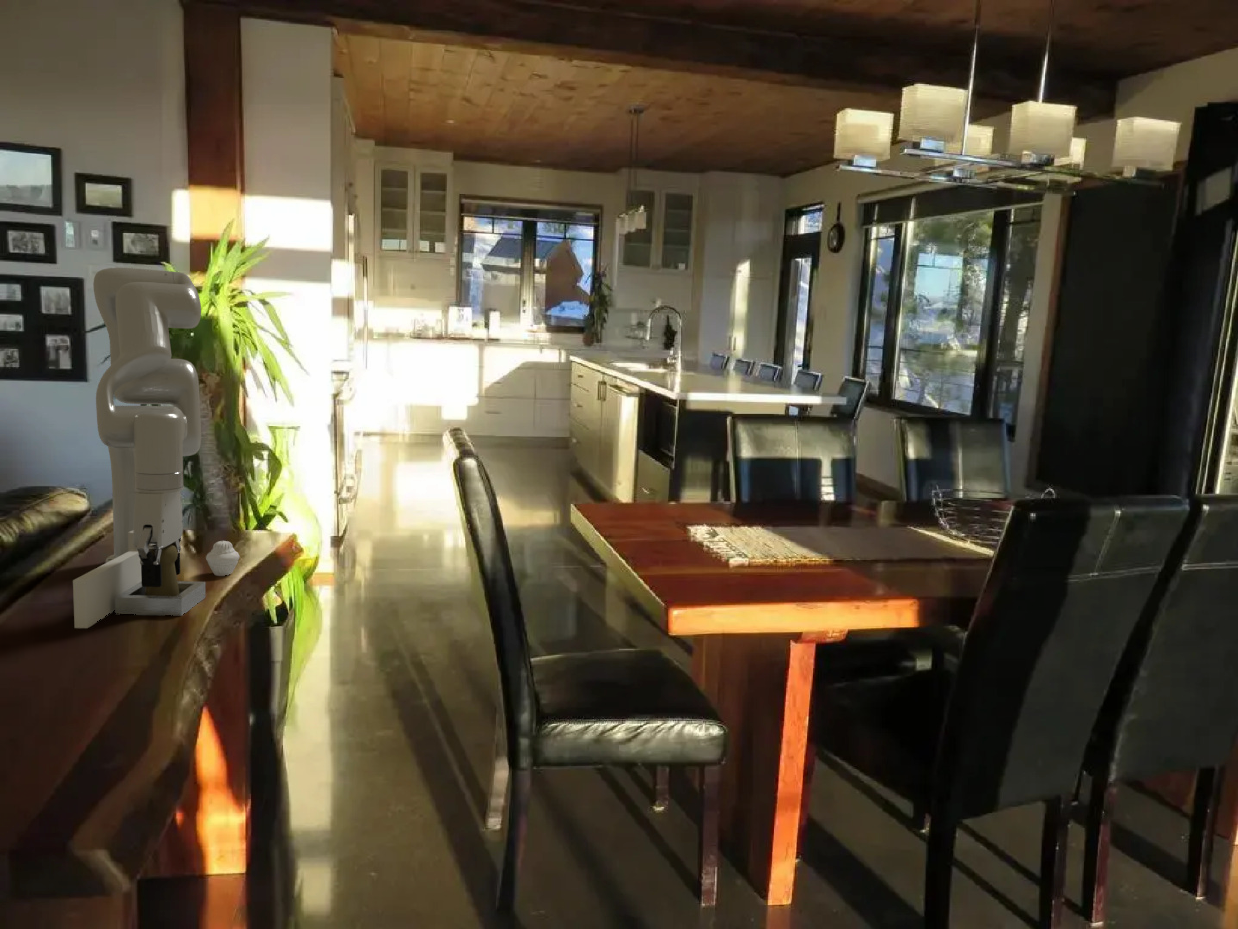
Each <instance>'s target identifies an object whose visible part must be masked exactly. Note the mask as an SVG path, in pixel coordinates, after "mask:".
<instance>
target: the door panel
mask: <svg viewBox="0 0 1238 929" xmlns="http://www.w3.org/2000/svg"><path fill="white" fill-rule="evenodd" d="M151 545H155V544H149V546H151ZM141 581H142V580H141V564H140V558H139V553H138V551H137V548H135V547H134V545H133V531H130V532H128V552H127V553H125V554H123V555H121V556H119V557H117V558H115V559H113V560H111V561H109V562H107V563H106V562H105V563H104V564H102V565H100V566H98V567H97V568H94V569H92V570H90V571H88V572H85V573H84V574H82V575H81V576H79V577H76V578H75V579H73V580H72V587H73V588H72V590H73V591H72V593H73V616H74V619H73V621H74V629H88V628H90V627H92V626H94V625H95V624H96V623H98V622H100V621H101V620H103V619H105V618H106V617H107V616H109V615H110V614H112V613H113V611H114V610H115V597H116V596H118V595H120V594H121V593H123V592H125V591H126V590H128V589H130V588H131V587H133V586H135V585H136V584H138V583H139V582H141ZM114 612H115V611H114ZM109 613H110V614H109ZM108 614H109V615H108ZM106 615H107V616H106ZM105 616H106V617H105ZM100 619H101V620H100ZM99 620H100V621H99ZM97 621H98V622H97Z"/></svg>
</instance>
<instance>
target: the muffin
mask: <svg viewBox="0 0 1238 929" xmlns="http://www.w3.org/2000/svg"><path fill="white" fill-rule="evenodd" d="M210 550H211V551H209V552H208V553H207V555H206V556H205V559H206V561H207V565H208V567H209V568H210V570H211V571H212V574H214V576H216V577H225V575H227V576H230V575H229V574H231V573H232V574H233V572H234V571H235V568H236V566H237V564H238V563H239V560H240V554H239V552H238V551H236V550H235V548H234V547H233V544H232V543H231V542H230V541H228V540H227V541H226V540H220V541H216V542H215V543H214V544H213V546H212V549H210ZM232 574H231V575H232Z"/></svg>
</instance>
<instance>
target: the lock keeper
mask: <svg viewBox="0 0 1238 929" xmlns="http://www.w3.org/2000/svg"><path fill="white" fill-rule="evenodd" d="M177 581H178V587H179V593H180V594H179V595H177V596H145V589H146V587H143V586H142V581H141V582H139V583H138V584H136V585H135V586H133V587H131V588H130V589H128V590H126V591H125V592H123V593H121V594H120V595H118V596H116V597H115V611H114V612H115V613H116V614H115V613H114V614H115V615H120V613H121V614H134V615H133V616H165V615H171V616H172V615H173V616H174V617H176V616H177V617H178V616H179V617H180V616H181V617H182V616H184V615H185V614H187V612H189V611H190V610H191V609H193V608H194V607H195V606H197V605H198V604H199V603H200V602H202V601H203V600H205V599H206V598H205V597H206V581H191V580H187V581H186V580H184V581H183V580H177ZM197 603H198V604H197ZM192 607H193V608H192ZM117 613H119V614H117ZM184 613H185V614H184ZM135 614H136V615H135ZM183 614H184V615H183ZM171 616H170V617H171Z"/></svg>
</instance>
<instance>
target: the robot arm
mask: <svg viewBox="0 0 1238 929" xmlns="http://www.w3.org/2000/svg"><path fill="white" fill-rule="evenodd" d="M92 284H93V292H94V293H93V294H94V299H95V302H96V306H97V309H98V311H99V314H100V316H101V318H102V320H103V322H104V324H105V325H104V326H105V328H106V330H107V333H108V339H109V352H110V353H109V354H110V356H109V357H110V366H109V367H108V368H107V369H106V371H105V372H104V373H103V375H102V376H101V378H100V379H99V382H98V385H97V388H96V393H95V394H96V395H95V406H96V407H95V408H96V409H95V411H96V423H97V425H96V426H97V431H98V432H97V433H98V437H99V439H100V441H101V442H102V443H103V444H104V446H106V447H107V448H108V449H107V450H108V452H109V461H110V471H111V485H112V486H111V490H112V493H111V495H112V520H113V522H112V523H113V526H112V527H113V530H112V531H113V554H112V555H109V556H108V557H107V558H105V563H107V562H109V561H111V560H113V559H115V558H117V557H119V556H121V555H123V554H125V553H127V552H128V532H130V531H133V545H134V547H135V548H137V551H138V553H139V558H140V564H141V580H142V586H143V587H160V586H162V564H159V561H160V556H161V550H162V549H163V548H165V547H166V546H168V545H170V544H171V545H174V546H175V547H176V549H177V552H178V556H177V559H176V561H175V562H174V563H175V569H176V575H177V576H178V575H180V574H181V553H180V552H181V550H182V549H181V544H180V543H181V541H182V536H183V533H184V532H183V530H184V529H183V528H184V517H183V516H184V515H183V503H182V494H181V491H183V490H184V458H183V457H189V456H193V455H195V454H197V453H198V452H199V450H200V449H201V445H202V420H201V400H200V385H199V384H200V382H199V376H198V372H197V369H196V367H195V366H194V364H193V363H192V362H191V361H189V360H187V359H182V358H172V349H171V341H170V332H169V328H170V329H171V328H172V329H195V328H196V327H197V326H198V325H199V323H200V321H201V317H202V305H201V299H200V296H199V292H198V290H197V288H196V286H195V284H194V283H193V282H192V280H191V278H190V276H188V274H186V273H184V272H180V271H173V270H172V271H169V270H158V269H156V270H155V269H145V268H135V267H134V268H133V267H107V268H104V269H103V268H102V269H101V270H99V271H97V272H96V273H95V275H94V277H93V283H92ZM114 397H115V399H116V400H117V401H118V402H120V403H123V404H131V405H115V403H114ZM149 544H157V546H149ZM149 551H155V556H154V555H153V554H152V552H149Z"/></svg>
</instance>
